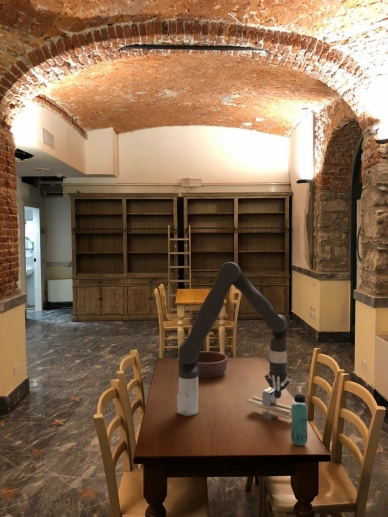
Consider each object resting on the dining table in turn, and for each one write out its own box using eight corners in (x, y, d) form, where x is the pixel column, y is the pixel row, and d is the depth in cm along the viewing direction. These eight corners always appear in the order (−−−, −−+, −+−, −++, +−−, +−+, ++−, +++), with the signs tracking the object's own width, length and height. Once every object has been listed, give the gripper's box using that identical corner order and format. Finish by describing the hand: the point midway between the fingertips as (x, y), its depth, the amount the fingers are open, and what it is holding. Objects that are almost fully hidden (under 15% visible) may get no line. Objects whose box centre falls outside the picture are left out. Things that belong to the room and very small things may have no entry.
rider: (270, 410, 187) (270, 392, 187) (262, 407, 190) (262, 390, 189) (276, 405, 192) (276, 388, 191) (268, 403, 194) (269, 386, 194)
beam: (288, 426, 181) (288, 412, 181) (246, 413, 195) (246, 400, 194) (295, 421, 187) (295, 407, 186) (254, 408, 200) (254, 395, 200)
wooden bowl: (179, 377, 244) (179, 360, 243) (195, 365, 267) (195, 349, 266) (219, 383, 234) (219, 365, 233) (233, 370, 257) (233, 353, 256)
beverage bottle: (287, 444, 166) (287, 395, 165) (296, 439, 170) (297, 391, 169) (301, 450, 161) (302, 400, 160) (310, 444, 166) (311, 395, 165)
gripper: (260, 359, 188) (260, 396, 189) (287, 364, 180) (287, 404, 181) (269, 355, 194) (268, 391, 195) (295, 360, 185) (295, 398, 186)
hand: (277, 397), depth 188 cm, fingers closed
